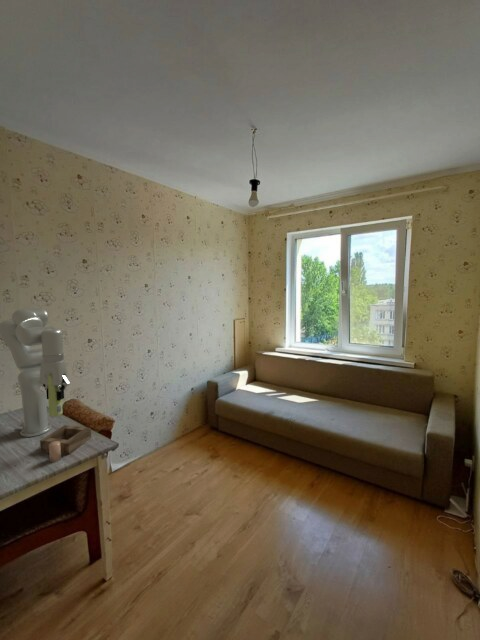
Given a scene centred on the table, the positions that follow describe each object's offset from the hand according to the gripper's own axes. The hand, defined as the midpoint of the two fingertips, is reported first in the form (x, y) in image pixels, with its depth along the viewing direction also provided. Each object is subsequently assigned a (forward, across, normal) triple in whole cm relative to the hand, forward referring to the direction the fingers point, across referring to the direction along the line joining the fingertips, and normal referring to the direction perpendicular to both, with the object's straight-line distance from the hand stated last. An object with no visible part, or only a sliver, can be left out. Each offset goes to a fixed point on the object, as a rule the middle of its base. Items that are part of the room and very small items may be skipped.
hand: (55, 398), depth 125 cm
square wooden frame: (+23, +1, +3) cm, 23 cm away
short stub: (+23, +6, -7) cm, 25 cm away
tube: (+8, 0, 0) cm, 8 cm away
